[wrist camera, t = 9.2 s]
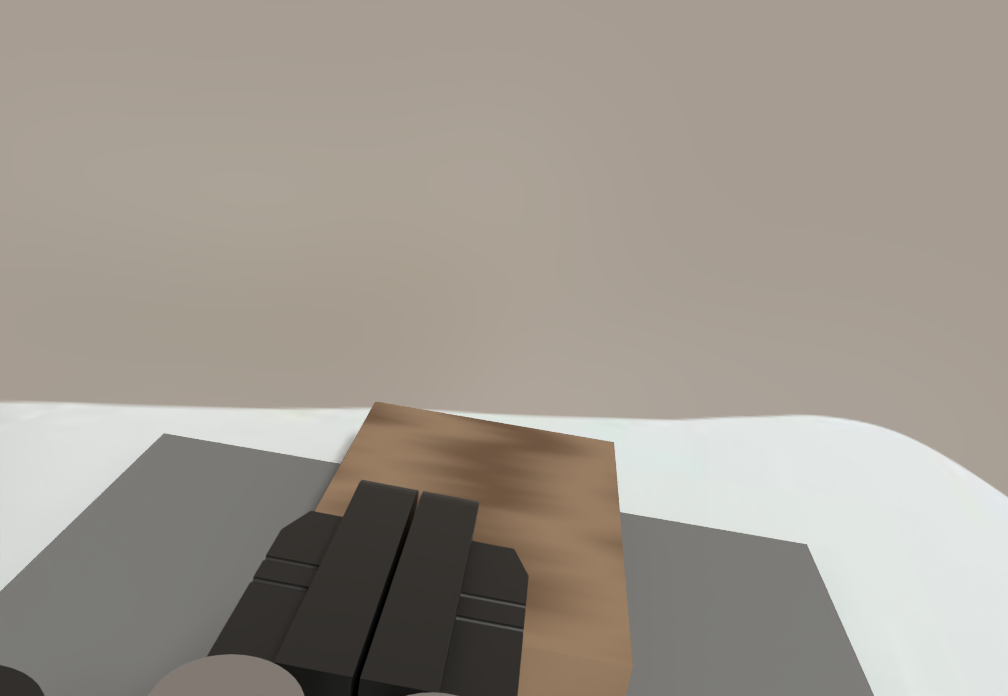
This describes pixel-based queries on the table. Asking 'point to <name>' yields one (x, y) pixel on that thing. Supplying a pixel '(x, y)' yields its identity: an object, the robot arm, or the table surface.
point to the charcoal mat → (299, 489)
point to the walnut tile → (521, 529)
